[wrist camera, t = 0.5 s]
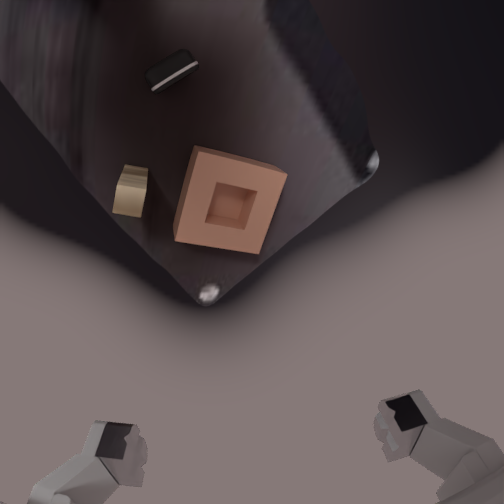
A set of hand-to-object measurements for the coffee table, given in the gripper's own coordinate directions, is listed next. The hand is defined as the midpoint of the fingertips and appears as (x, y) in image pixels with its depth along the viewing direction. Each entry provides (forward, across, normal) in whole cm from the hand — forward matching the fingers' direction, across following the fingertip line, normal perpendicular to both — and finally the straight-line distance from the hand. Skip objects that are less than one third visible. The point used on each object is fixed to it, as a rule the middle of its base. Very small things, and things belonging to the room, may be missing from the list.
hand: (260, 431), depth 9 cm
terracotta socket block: (+49, +2, 0) cm, 49 cm away
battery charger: (+43, +9, -22) cm, 49 cm away
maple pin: (+45, +16, -6) cm, 48 cm away
